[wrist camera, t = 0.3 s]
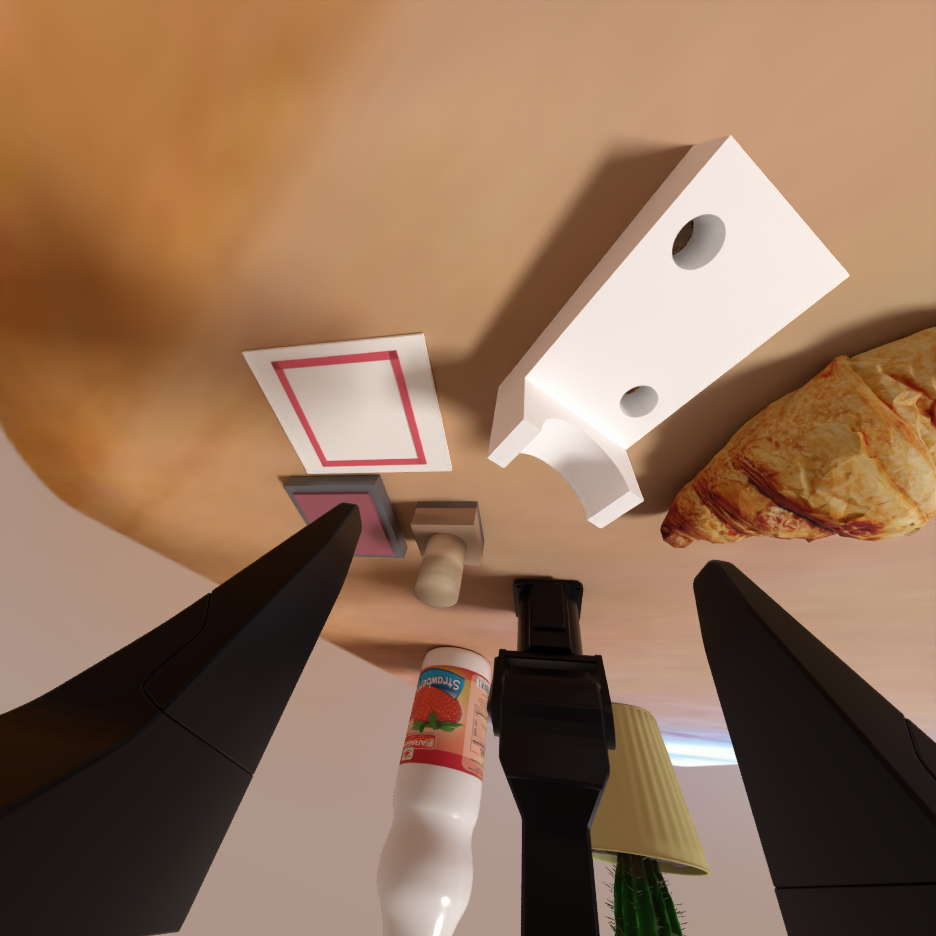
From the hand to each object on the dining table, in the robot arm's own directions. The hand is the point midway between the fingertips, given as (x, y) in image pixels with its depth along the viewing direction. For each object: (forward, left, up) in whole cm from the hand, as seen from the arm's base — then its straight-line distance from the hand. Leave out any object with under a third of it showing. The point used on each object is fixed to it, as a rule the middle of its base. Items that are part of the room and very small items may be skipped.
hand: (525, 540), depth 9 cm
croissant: (-6, -17, -14) cm, 23 cm away
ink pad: (-13, +16, -14) cm, 25 cm away
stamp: (-14, +7, -14) cm, 21 cm away
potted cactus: (-57, -11, -14) cm, 60 cm away
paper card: (-3, +12, -14) cm, 19 cm away
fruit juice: (-43, +11, -14) cm, 46 cm away
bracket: (0, -5, -14) cm, 15 cm away
